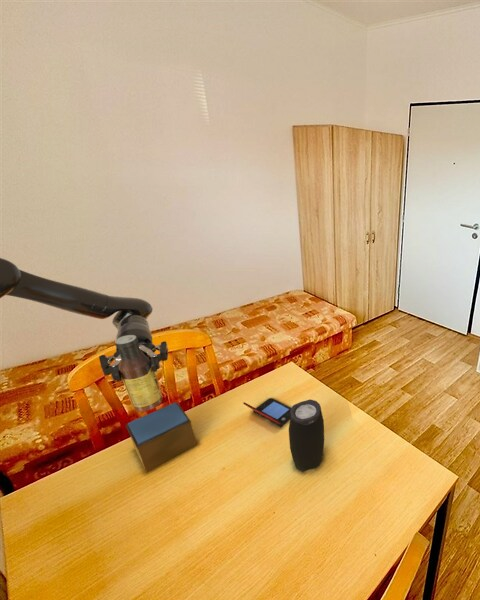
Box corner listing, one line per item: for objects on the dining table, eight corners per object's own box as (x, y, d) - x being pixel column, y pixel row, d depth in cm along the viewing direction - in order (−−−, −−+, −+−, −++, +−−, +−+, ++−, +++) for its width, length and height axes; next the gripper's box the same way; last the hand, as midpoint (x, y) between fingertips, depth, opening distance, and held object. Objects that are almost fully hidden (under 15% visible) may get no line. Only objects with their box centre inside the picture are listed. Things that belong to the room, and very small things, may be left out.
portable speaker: (285, 465, 89) (280, 413, 81) (308, 442, 97) (306, 392, 89) (308, 480, 86) (305, 428, 78) (330, 455, 93) (330, 405, 85)
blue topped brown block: (146, 473, 84) (136, 447, 80) (135, 450, 89) (125, 424, 85) (197, 446, 92) (190, 420, 88) (184, 426, 98) (177, 402, 94)
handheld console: (297, 413, 107) (296, 396, 104) (272, 435, 98) (270, 417, 95) (270, 399, 112) (268, 382, 108) (244, 419, 103) (241, 401, 100)
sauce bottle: (168, 401, 84) (150, 337, 75) (142, 416, 78) (120, 350, 70) (153, 392, 86) (133, 329, 77) (127, 406, 81) (103, 341, 72)
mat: (138, 444, 80) (137, 443, 80) (128, 424, 85) (127, 423, 85) (187, 420, 88) (187, 419, 88) (175, 403, 93) (175, 402, 93)
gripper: (95, 335, 81) (90, 371, 70) (163, 322, 90) (169, 351, 78) (104, 359, 85) (101, 397, 73) (169, 344, 93) (176, 375, 81)
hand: (136, 373), depth 76 cm, fingers closed on sauce bottle, 6 cm apart
